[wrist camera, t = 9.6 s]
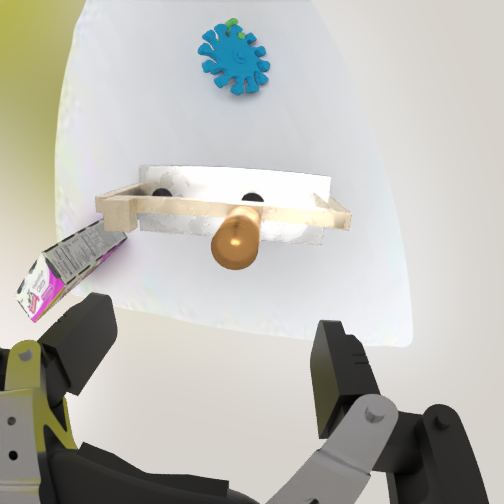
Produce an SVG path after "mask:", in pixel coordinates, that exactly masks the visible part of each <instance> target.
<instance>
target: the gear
mask: <svg viewBox="0 0 504 504" xmlns="http://www.w3.org/2000/svg"><path fill="white" fill-rule="evenodd" d="M236 24H238V20H237V19H235V18H232V19H230V20H229V21H227V22H226V23H225V24H218V25H217V26H215V27H214V30H215V31H216V33H217V34H218V37H219V38H218V39H217V40H216V34H215V32H214V31H213V30H210V31H208V32H206V33H205V34H204V35H203V36H202V38H203V39H204V40H206V41H207V42H209V43H210V44H211V45H212V47H213V49H214V51H213V50H212V49H211V47H210V45H209V44H207V43H204V44H202V45H201V46H200V47H199V49H198V54H200V55H206V56H209V57H211V58H212V59H214V60H215V61H216V62H217V64H215V63H214V62H213V61H211V60H207V61H206V62H204V63H203V64H202V67H203V70H204V72H205V73H209V72H211V74H213V75H214V74H217V73H218V72H220V71H223V72H224V73H225V76H223V75H221V76H219V77H217V78H215V79H214V82H215V84H216V85H217V86H218V87H219V88H222V87H224V86H226V85H227V84H228V81H229V79H230V78H235V79H236V82H237V83H236V85H234V86H232V87H231V89H230V90H231V92H232V93H234V94H236V95H240V94H242V93H243V92H244V87H243V83H244V80H245V79H246V80H247V82H248V84H247V86H246V92H247V93H254V92H257V91H259V88H258V86H257V84H258V85H261V84H264V83H266V82H267V81H268V78H267V77H266V76H265V75H264V74H263V73H262V72H261V71H263V72H265V71H267V70H269V67H270V63H269V62H267V61H263V60H261V59H259V58H258V57H257V56H263V55H265V54H266V52H265V48H264V47H263V46H260V47H252V46H250V45H248V43H252V42H254V41H255V40H256V37H255V36H254V35H253V34H252V33H249V34H247V35H244V34H243V33H242V28H241V27H240V26H238V25H236ZM255 54H256V55H257V56H256V55H255ZM257 65H258V66H257ZM258 67H259V68H258ZM259 69H260V70H261V71H260V70H259ZM254 75H255V76H256V82H257V84H256V82H255V80H254Z"/></svg>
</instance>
